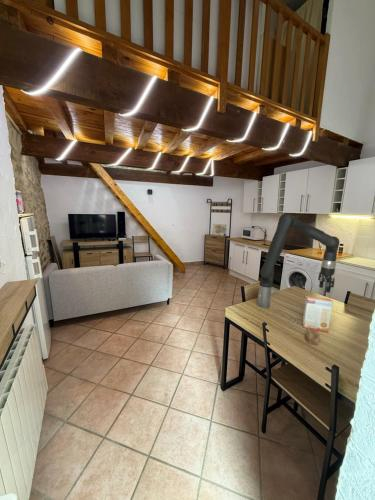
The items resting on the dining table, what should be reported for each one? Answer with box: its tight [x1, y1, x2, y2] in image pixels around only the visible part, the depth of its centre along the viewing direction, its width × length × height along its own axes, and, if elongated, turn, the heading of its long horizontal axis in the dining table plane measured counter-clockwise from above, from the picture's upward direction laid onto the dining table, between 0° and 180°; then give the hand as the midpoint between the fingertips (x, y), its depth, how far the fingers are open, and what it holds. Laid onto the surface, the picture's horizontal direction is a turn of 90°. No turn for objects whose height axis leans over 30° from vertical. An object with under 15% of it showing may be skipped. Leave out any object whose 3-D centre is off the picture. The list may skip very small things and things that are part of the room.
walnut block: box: [304, 328, 320, 346], centre depth 117 cm, size 5×5×7 cm
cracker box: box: [302, 295, 334, 333], centre depth 131 cm, size 14×6×21 cm, turn 68°
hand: (324, 289), depth 136 cm, fingers open, 8 cm apart
